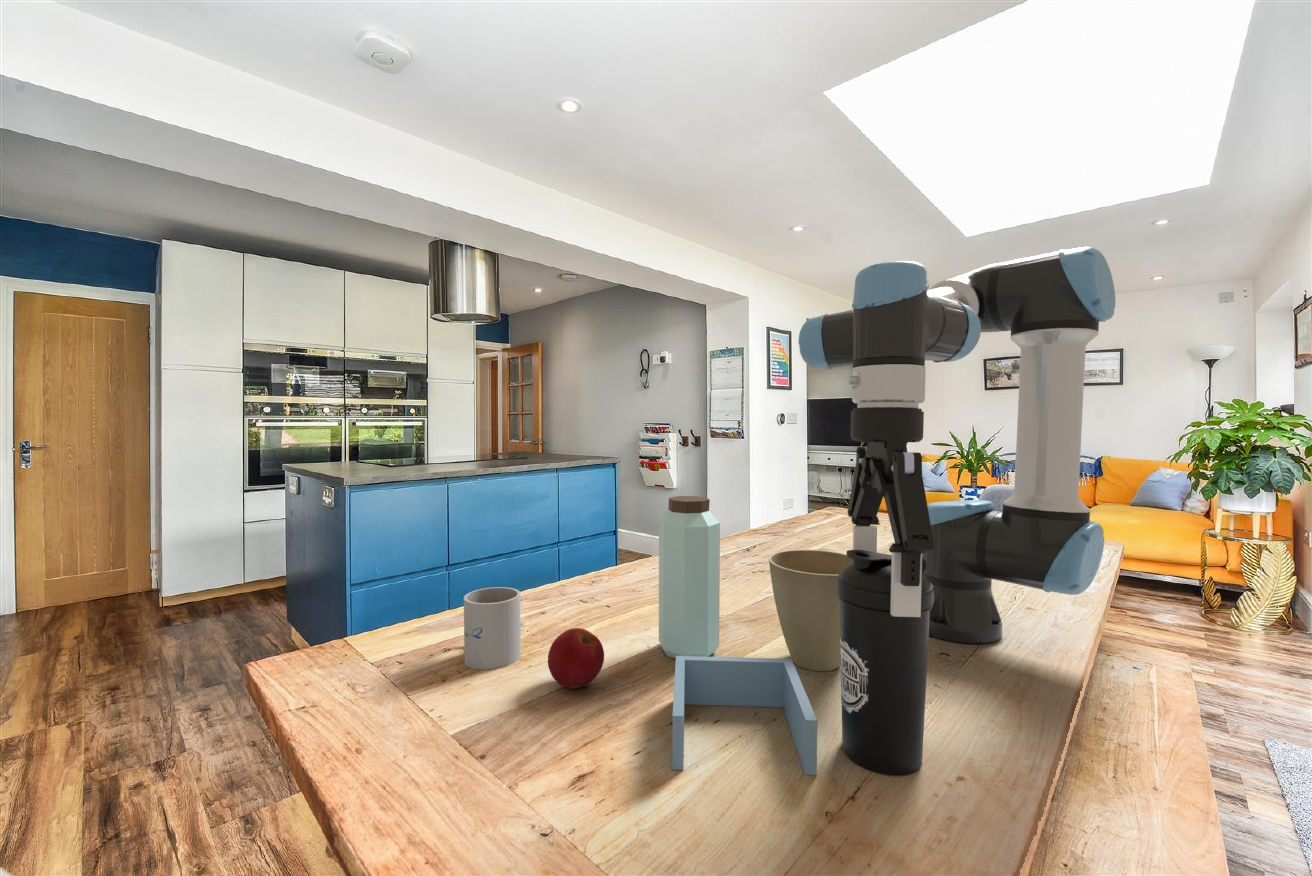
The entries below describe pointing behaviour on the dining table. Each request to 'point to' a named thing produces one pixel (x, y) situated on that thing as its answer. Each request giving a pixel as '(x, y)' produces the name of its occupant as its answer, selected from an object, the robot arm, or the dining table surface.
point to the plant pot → (809, 605)
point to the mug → (492, 627)
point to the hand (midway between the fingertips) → (882, 595)
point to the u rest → (744, 697)
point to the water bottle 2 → (881, 668)
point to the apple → (575, 658)
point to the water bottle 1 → (689, 578)
